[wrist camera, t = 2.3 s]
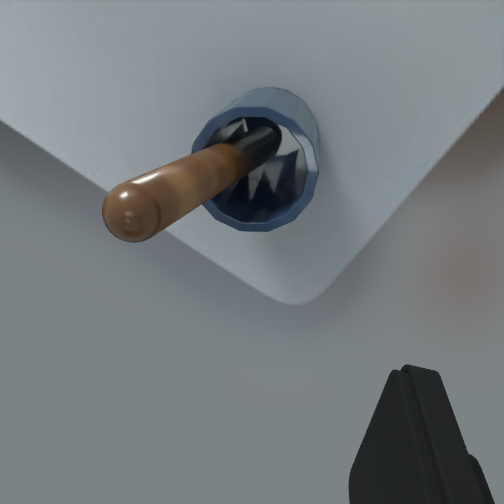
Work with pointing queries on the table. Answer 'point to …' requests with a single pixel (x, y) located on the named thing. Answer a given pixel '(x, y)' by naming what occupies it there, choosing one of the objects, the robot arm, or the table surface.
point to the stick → (184, 184)
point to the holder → (273, 171)
